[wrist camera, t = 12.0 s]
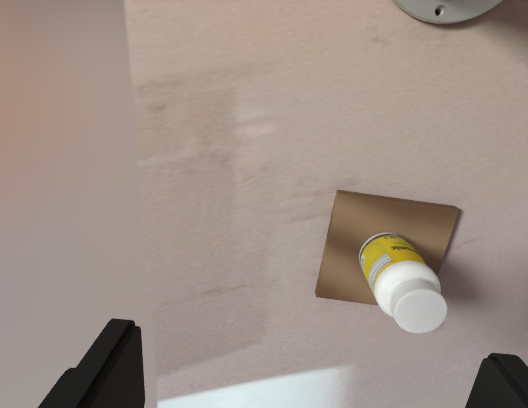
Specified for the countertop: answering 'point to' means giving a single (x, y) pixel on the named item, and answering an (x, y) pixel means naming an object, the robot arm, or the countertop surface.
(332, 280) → the walnut board
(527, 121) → the countertop surface
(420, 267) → the supplement bottle
